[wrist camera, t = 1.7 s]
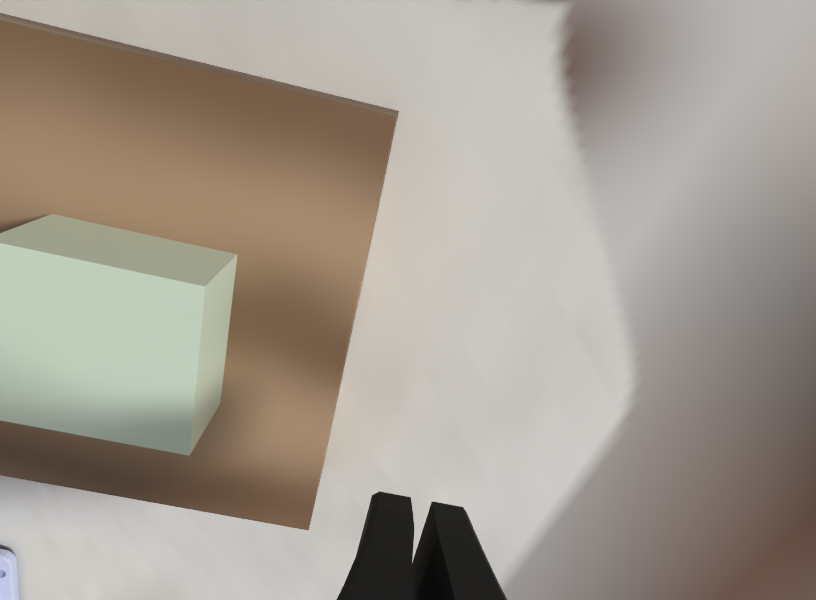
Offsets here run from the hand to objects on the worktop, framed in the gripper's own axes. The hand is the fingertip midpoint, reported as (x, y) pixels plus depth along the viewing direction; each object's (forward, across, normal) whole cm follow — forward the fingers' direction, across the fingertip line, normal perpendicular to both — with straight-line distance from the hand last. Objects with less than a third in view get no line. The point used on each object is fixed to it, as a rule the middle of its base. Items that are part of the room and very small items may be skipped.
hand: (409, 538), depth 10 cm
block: (+6, +8, 0) cm, 10 cm away
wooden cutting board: (+9, +9, 0) cm, 13 cm away
